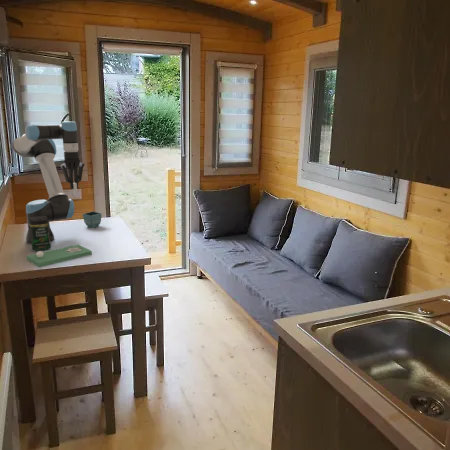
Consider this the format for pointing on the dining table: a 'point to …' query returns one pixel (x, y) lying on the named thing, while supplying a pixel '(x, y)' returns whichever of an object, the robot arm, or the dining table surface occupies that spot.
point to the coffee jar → (40, 233)
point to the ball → (39, 254)
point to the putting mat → (59, 255)
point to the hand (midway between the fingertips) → (74, 194)
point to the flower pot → (92, 219)
